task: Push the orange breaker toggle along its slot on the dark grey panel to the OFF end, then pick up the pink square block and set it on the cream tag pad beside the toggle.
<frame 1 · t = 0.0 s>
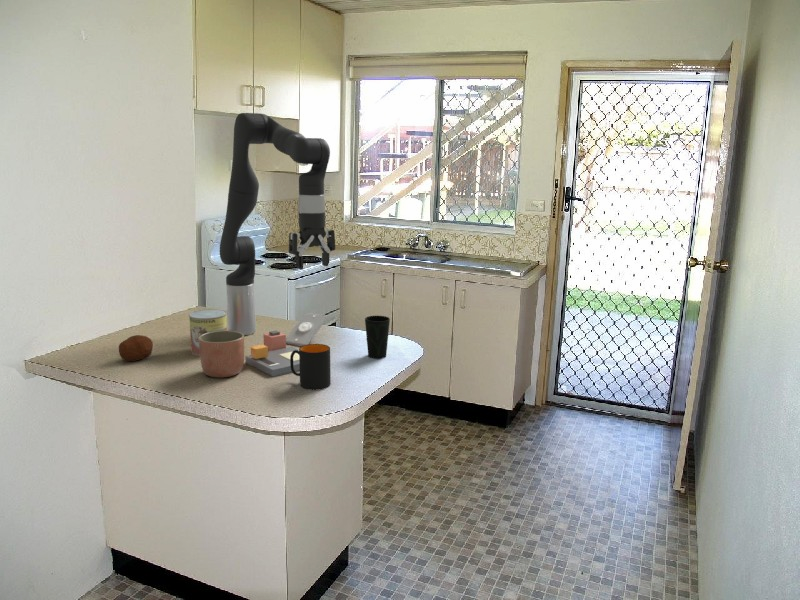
hand: (312, 267, 194), 29 cm above the countertop, fingers open, 8 cm apart
cup: (377, 356, 209), on the countertop
mug: (309, 384, 184), on the countertop
planter: (223, 373, 191), on the countertop
canned food: (209, 351, 212), on the countertop
panel: (282, 364, 200), on the countertop
toggle: (259, 351, 199), point 4 cm above the countertop, slide at 0.0 cm
light switch: (306, 341, 225), on the countertop
pink square block: (275, 352, 211), on the countertop
potato: (136, 360, 203), on the countertop
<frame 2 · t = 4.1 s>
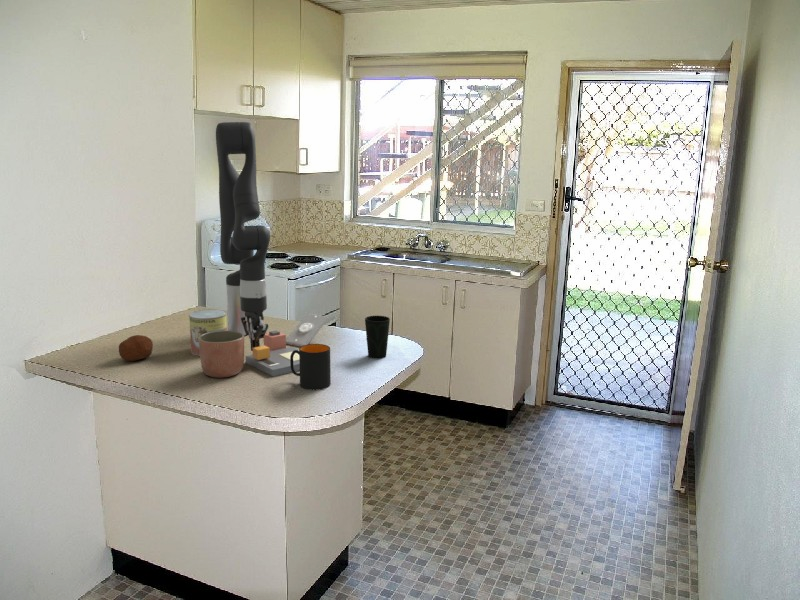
hand: (255, 351, 200), 4 cm above the countertop, fingers closed
toggle: (261, 352, 198), point 4 cm above the countertop, slide at 1.1 cm, touching gripper
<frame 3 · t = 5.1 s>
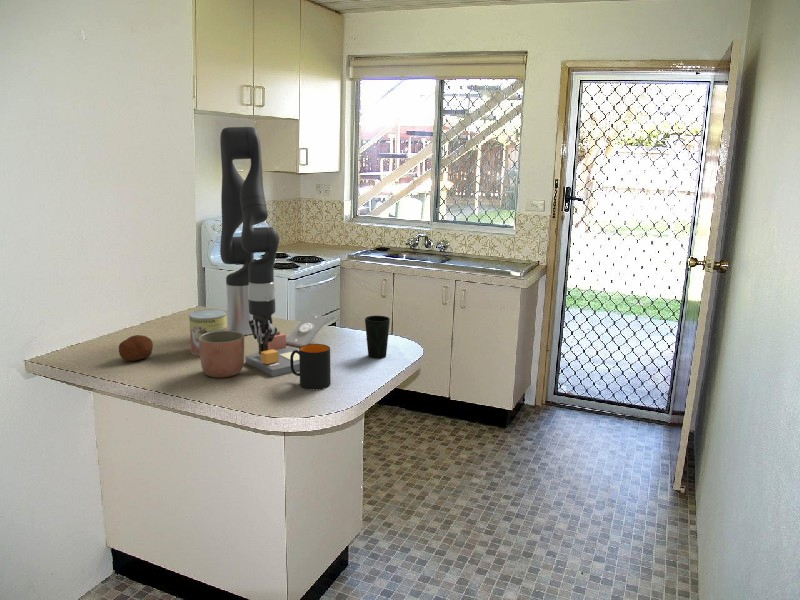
hand: (263, 354, 196), 4 cm above the countertop, fingers closed
toggle: (269, 356, 194), point 4 cm above the countertop, slide at 6.0 cm, touching gripper
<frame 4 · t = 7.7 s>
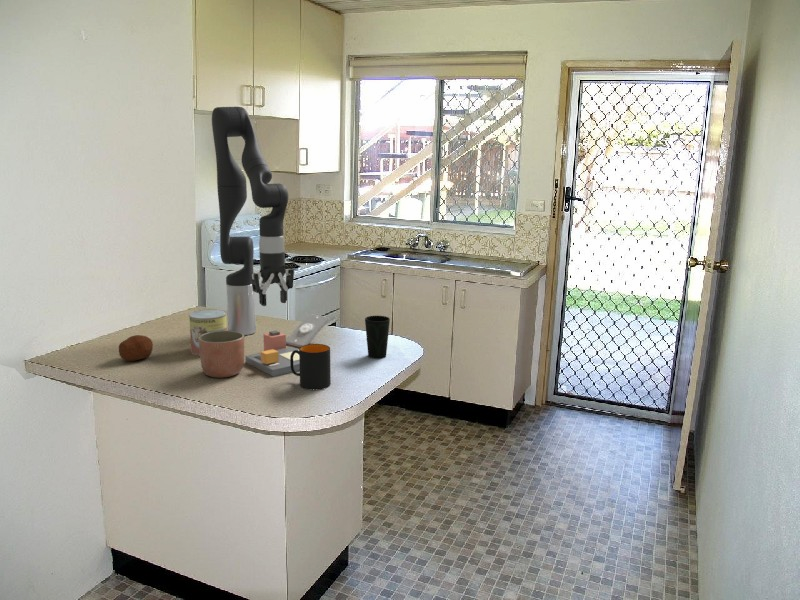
hand: (273, 303, 208), 16 cm above the countertop, fingers open, 6 cm apart
toggle: (269, 356, 194), point 4 cm above the countertop, slide at 6.0 cm
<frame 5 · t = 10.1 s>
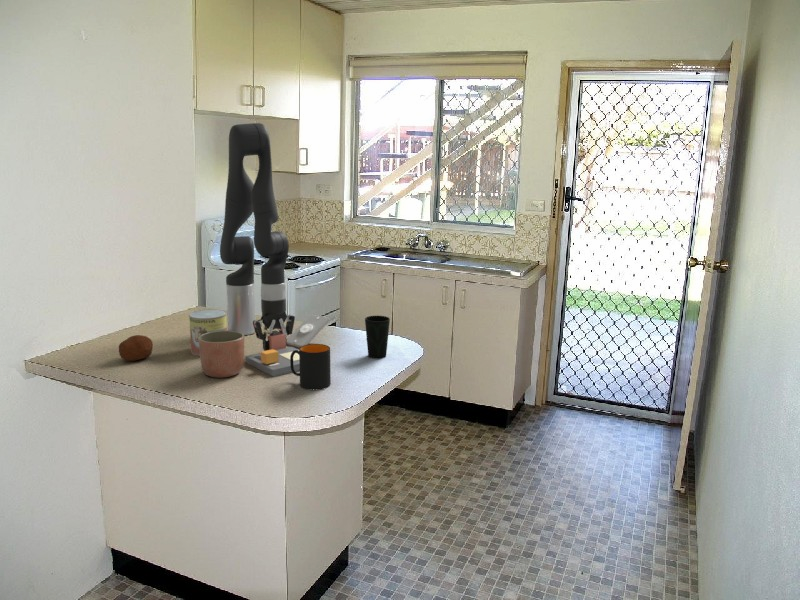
hand: (275, 349, 211), 1 cm above the countertop, fingers closed on pink square block, 5 cm apart
pink square block: (275, 352, 211), on the countertop, touching gripper
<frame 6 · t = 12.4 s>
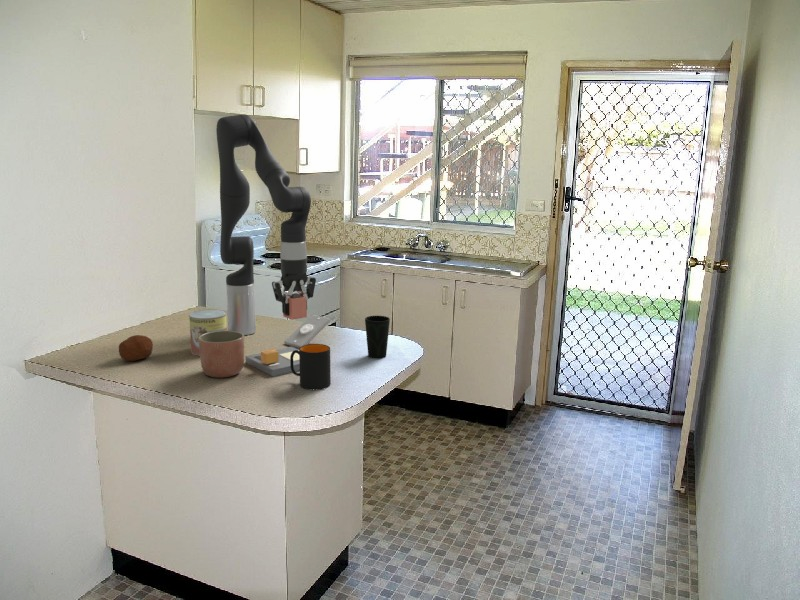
hand: (295, 313, 198), 15 cm above the countertop, fingers closed on pink square block, 5 cm apart
pink square block: (295, 316, 199), point 14 cm above the countertop, touching gripper
when the fingers open (4 cm above the countertop, at t = 14.7 s): pink square block drops 1 cm, resting on panel.
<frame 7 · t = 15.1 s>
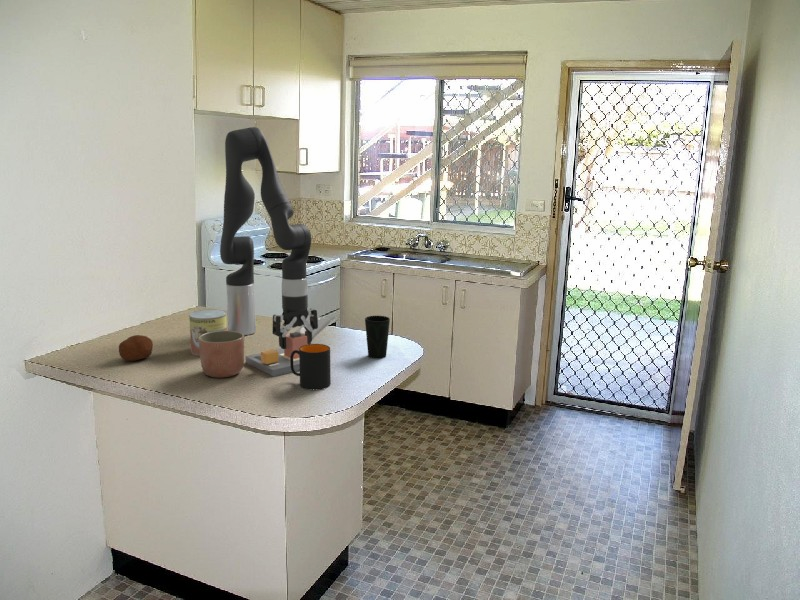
hand: (295, 346, 201), 5 cm above the countertop, fingers open, 8 cm apart
pink square block: (295, 355, 201), point 2 cm above the countertop, touching panel
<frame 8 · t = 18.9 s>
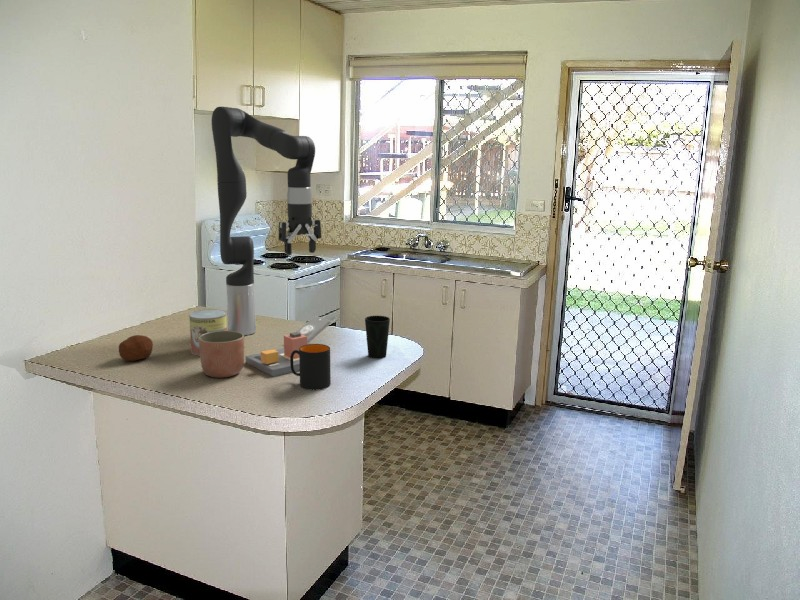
hand: (300, 253, 212), 30 cm above the countertop, fingers open, 8 cm apart
at the end: toggle slide at 6.0 cm; pink square block inside the target area on the panel (0.1 cm from its centre), point 2.2 cm above the panel's base; the gripper is holding nothing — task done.
